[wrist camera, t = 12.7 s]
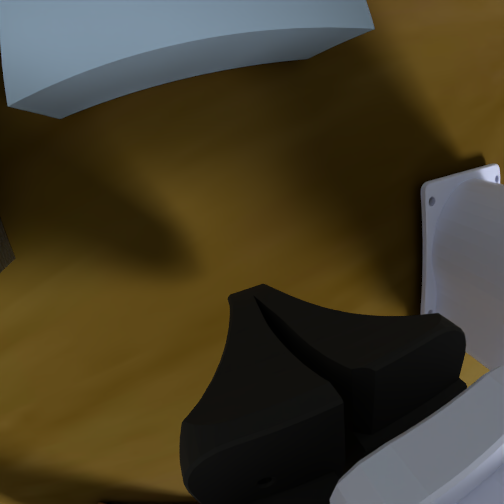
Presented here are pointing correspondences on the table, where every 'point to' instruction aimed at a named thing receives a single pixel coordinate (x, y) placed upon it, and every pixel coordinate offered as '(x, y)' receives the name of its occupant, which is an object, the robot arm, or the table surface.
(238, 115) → the table surface
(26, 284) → the table surface
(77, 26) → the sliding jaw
